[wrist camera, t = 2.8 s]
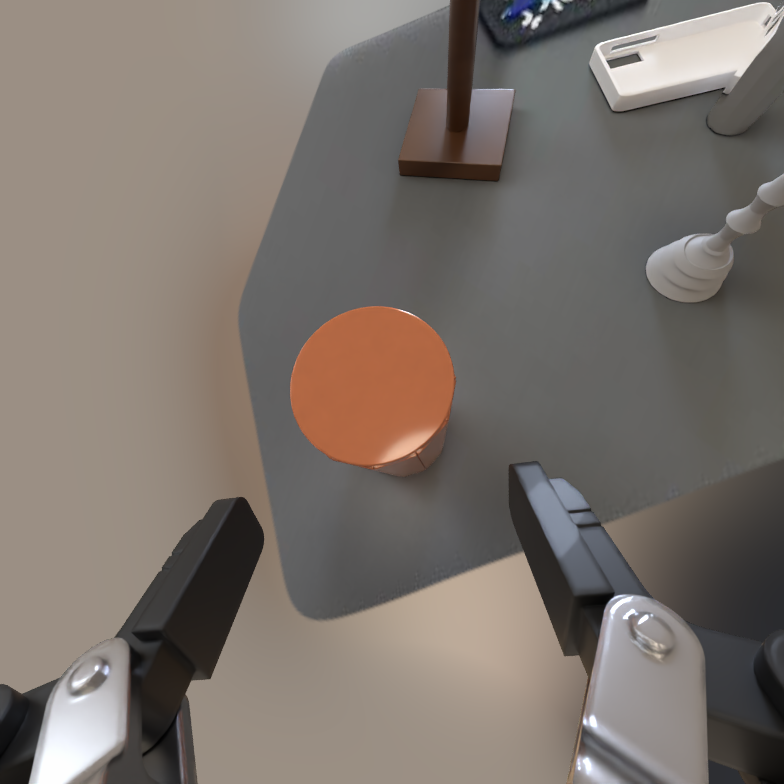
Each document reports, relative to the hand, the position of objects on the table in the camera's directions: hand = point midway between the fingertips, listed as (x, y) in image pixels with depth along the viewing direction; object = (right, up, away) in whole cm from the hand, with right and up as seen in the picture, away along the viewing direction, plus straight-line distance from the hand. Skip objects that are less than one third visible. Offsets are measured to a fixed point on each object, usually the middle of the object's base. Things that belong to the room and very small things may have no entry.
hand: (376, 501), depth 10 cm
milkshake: (+28, +26, +17) cm, 42 cm away
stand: (+7, +27, +21) cm, 35 cm away
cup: (+1, 0, +14) cm, 14 cm away
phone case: (+27, +33, +20) cm, 47 cm away
